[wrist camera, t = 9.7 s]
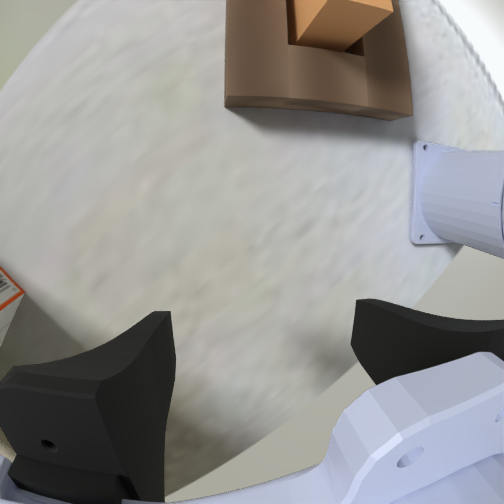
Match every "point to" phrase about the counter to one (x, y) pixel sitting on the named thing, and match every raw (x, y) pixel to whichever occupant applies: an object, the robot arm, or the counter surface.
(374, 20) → the keyed peg
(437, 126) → the counter surface
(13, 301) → the cereal box
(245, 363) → the counter surface
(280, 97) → the keyed socket
